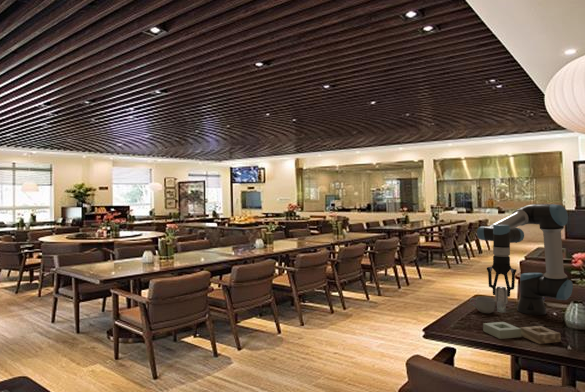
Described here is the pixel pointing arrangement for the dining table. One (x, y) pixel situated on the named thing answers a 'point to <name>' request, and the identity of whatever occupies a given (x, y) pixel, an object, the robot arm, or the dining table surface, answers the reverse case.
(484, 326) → the socket block
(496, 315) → the dining table surface
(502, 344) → the dining table surface
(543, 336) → the block
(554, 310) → the dining table surface
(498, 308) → the lock pin
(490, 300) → the teacup
